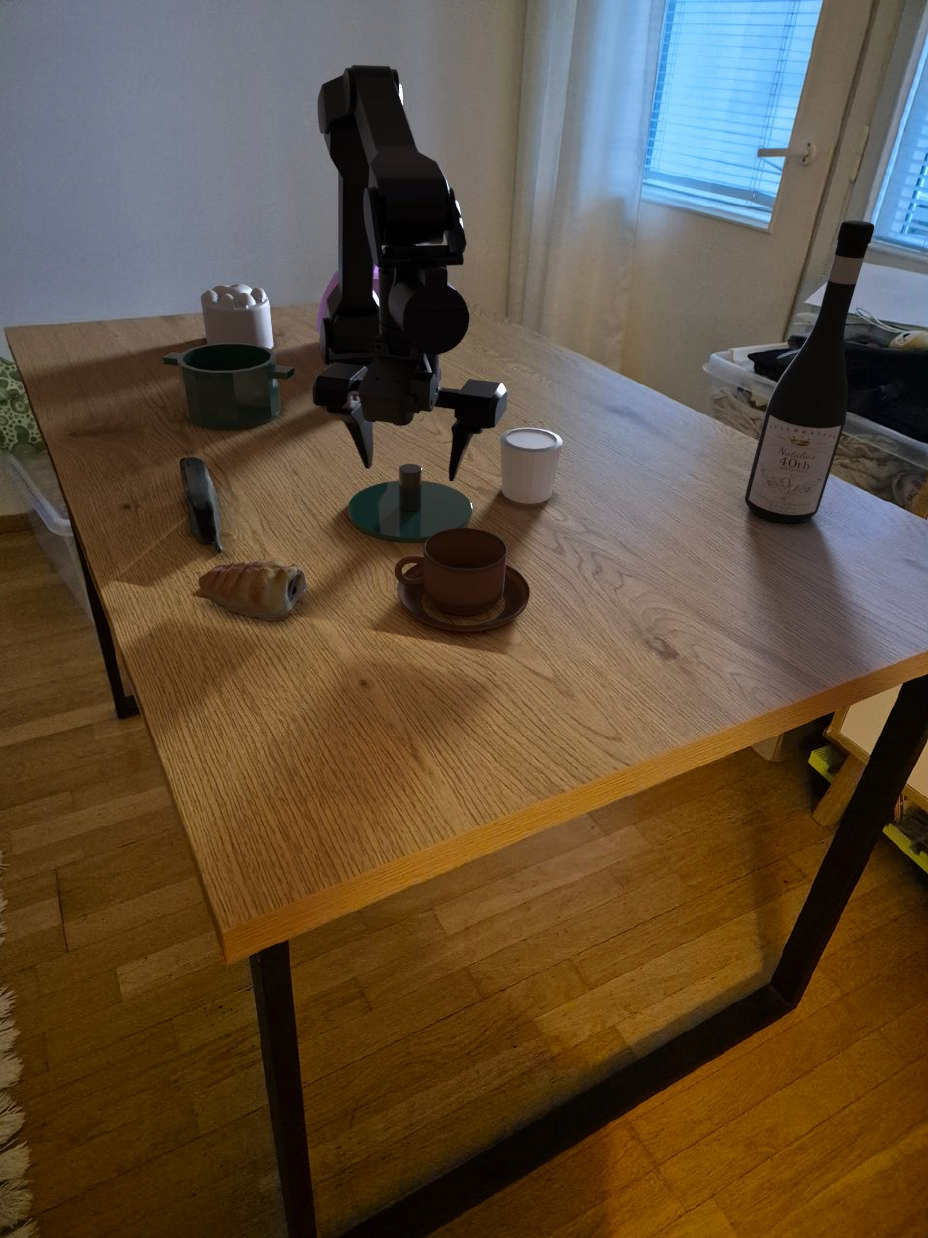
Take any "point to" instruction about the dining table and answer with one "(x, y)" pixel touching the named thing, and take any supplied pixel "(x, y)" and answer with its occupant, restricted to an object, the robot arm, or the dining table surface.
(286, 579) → the pastry
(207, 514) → the black long curved piece
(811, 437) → the wine bottle
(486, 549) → the cup and saucer
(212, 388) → the pot
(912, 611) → the dining table surface
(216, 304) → the lumpy-topped squat cylinder
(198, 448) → the dining table surface
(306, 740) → the dining table surface
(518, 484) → the white lidded cup
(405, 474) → the lid
